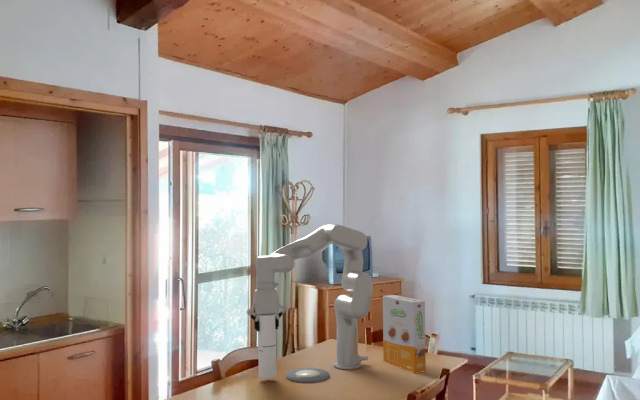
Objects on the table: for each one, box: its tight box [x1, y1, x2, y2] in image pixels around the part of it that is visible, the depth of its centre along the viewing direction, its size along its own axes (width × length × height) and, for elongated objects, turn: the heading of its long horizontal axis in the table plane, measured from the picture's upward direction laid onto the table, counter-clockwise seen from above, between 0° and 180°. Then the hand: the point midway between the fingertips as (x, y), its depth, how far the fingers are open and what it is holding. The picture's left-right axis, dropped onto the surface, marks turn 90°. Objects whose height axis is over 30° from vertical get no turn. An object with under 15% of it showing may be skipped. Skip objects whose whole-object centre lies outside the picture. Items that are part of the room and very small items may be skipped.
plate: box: [285, 367, 330, 384], centre depth 231 cm, size 18×18×1 cm
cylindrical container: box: [257, 314, 277, 379], centre depth 225 cm, size 7×7×25 cm
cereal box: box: [382, 294, 427, 374], centre depth 246 cm, size 22×6×30 cm, turn 28°
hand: (266, 329), depth 226 cm, fingers closed on cylindrical container, 7 cm apart
